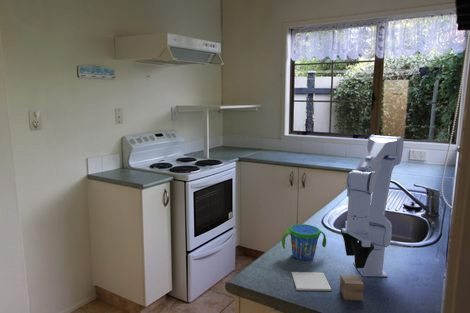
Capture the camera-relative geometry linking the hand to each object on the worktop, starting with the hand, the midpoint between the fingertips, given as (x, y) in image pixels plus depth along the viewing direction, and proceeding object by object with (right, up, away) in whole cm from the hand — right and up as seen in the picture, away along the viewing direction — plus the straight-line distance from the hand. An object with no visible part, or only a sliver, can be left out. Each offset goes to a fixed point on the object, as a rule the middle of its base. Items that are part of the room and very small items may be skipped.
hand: (354, 261), depth 102 cm
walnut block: (-1, -10, +2) cm, 11 cm away
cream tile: (-10, -9, +9) cm, 16 cm away
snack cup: (-9, -6, +27) cm, 29 cm away
